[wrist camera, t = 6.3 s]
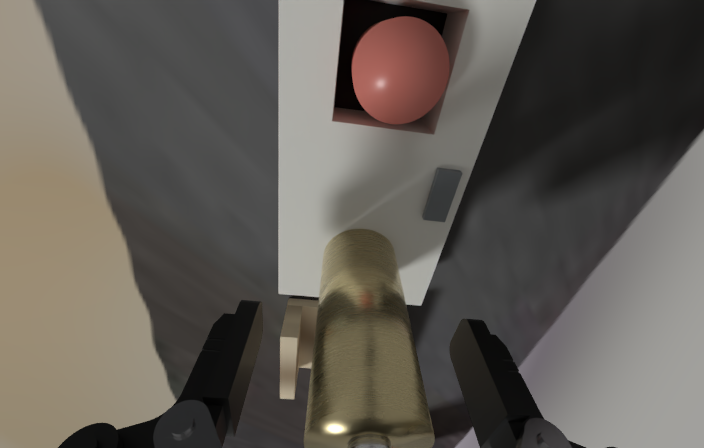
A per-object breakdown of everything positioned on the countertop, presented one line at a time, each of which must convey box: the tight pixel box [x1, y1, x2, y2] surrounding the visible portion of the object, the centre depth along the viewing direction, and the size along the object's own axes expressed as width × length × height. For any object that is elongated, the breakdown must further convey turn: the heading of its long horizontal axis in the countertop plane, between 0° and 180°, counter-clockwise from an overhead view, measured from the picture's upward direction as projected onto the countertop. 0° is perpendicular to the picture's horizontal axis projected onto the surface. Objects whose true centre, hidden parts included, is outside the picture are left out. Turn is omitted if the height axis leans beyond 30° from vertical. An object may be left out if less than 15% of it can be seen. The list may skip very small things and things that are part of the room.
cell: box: [304, 229, 435, 448], centre depth 11 cm, size 4×4×8 cm
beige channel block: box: [280, 298, 318, 399], centre depth 21 cm, size 7×8×3 cm
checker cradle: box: [279, 0, 536, 306], centre depth 14 cm, size 14×8×3 cm, turn 172°
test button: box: [351, 16, 450, 124], centre depth 11 cm, size 3×3×4 cm
